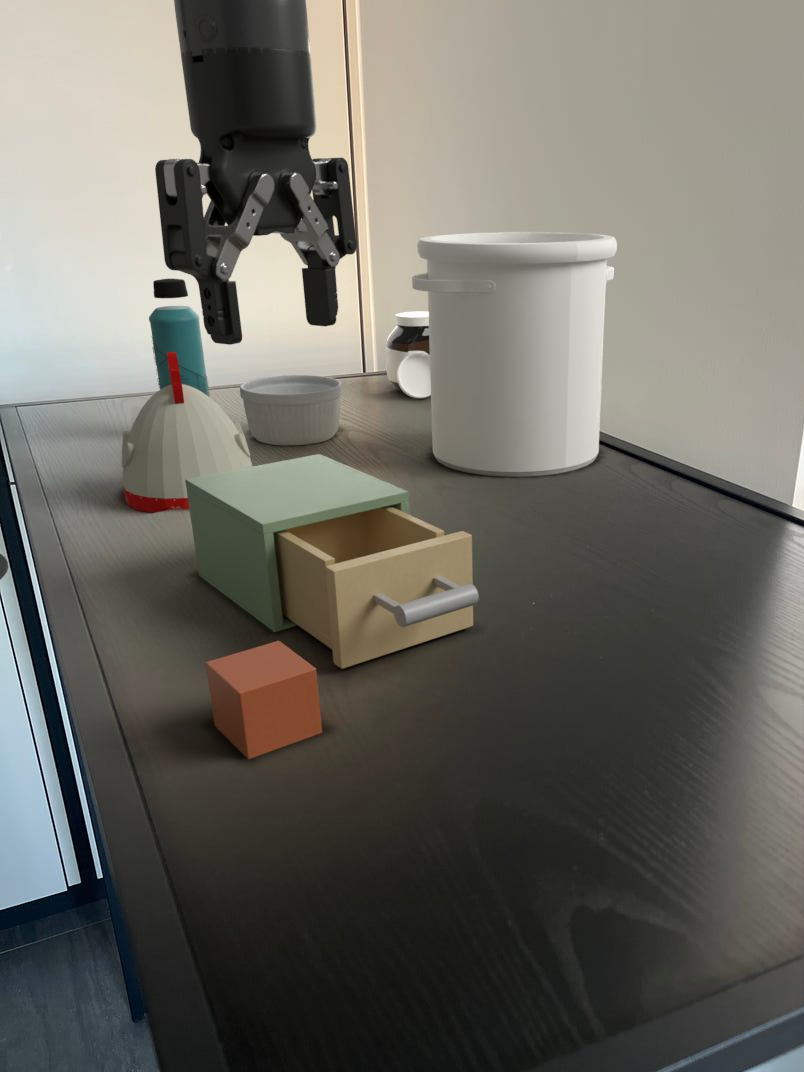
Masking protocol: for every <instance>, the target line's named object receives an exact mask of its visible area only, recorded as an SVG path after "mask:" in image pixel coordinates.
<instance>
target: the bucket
mask: <svg viewBox="0 0 804 1072" xmlns="http://www.w3.org/2000/svg"><path fill="white" fill-rule="evenodd" d="M617 251H618V241H617V239H616V237H615V236H612V235H608V234H601V233H599V234H598V233H585V232H584V233H583V232H559V231H558V232H557V231H556V232H555V231H498V232H494V231H493V232H469V233H451V234H439V235H432V236H431V235H429V236H424V237H421V238H419V240H418V242H417V254H418V255H419V257H420V259H423V260H426V272H425V273H418V274H415V275H413V276H412V277H411V283H412V285H411V286H412V289H413V290H416V291H420V292H421V291H422V292H427V305H428V306H427V307H428V308H427V309H428V310H427V312H429V345H430V378H431V395H430V407H431V440H432V441H431V443H432V445H431V446H432V454H433V456H434V459H435V460H436V461H437V462H438V463H439V464H441V465H443V466H445V467H446V468H449V469H452V470H455V471H459V472H463V473H468V474H474V475H480V476H487V477H488V476H489V477H501V478H502V477H505V478H507V477H508V478H525V477H540V476H541V477H543V476H551V475H558V474H563V473H569V472H572V471H577V470H579V469H581V468H584V467H587V466H588V465H590V464H592V463H593V462H594V461H595V460H596V459H597V457H598V454H599V451H600V427H601V426H600V425H601V408H602V407H601V405H602V383H603V362H604V361H603V359H604V335H605V333H604V332H605V315H606V314H605V313H606V292H607V291H606V290H607V283H608V281H612V280H613V279H614V276H615V267H614V266H610V265H608V259H610V258H612V257H615V255H616V253H617Z"/></svg>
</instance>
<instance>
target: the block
mask: <svg viewBox="0 0 804 1072" xmlns="http://www.w3.org/2000/svg"><path fill="white" fill-rule="evenodd" d="M205 670H206V677H207V683H208V689H209V697H210V703H211V708H212V716H213V725H214V727H215V728H216V729H217V730H218V731H219V732H220V733H221V734H222V735H223V736H224V737H225V738H226V739H227V740H228V741H229V742H230V743H231V744H232V745H233V746H234V747H235V748H236V749H237V750H238V751H239V752H240V753H241V754H243V756H244V757H245V758H246V759H247V760H250V759H253V758H256V757H259V756H262V755H264V754H267V753H270V752H272V751H275V750H278V749H280V748H283V747H286V746H289V745H291V744H295V743H297V742H300V741H303V740H305V739H309V738H311V737H314V736H316V735H319V734H322V733H323V726H322V715H321V705H320V696H319V685H318V675H317V668H316V667H315V666H313V665H312V664H311V663H310V662H308V661H307V660H305V659H304V658H302V657H301V656H300V655H299V654H298V653H296V652H295V651H293V650H292V649H291V648H290V647H289V646H287V645H286V644H284V643H283V642H282V641H280V640H276V641H273V642H269V643H266V644H263V645H260V646H259V645H258V646H255V647H252V648H249V649H246V650H241V651H238V652H235V653H232V654H229V655H226V656H225V655H224V656H222V657H219V658H215V659H212V660H209V661H206V662H205Z"/></svg>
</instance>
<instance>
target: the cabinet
mask: <svg viewBox="0 0 804 1072" xmlns="http://www.w3.org/2000/svg"><path fill="white" fill-rule="evenodd" d="M252 466H253V467H248V468H243V469H237V470H232V471H227V472H221V473H216V474H211V475H205V476H200V477H195V478H189V479H185V483H186V488H187V496H188V503H189V509H188V510H189V516H190V523H191V529H192V536H193V542H194V549H195V556H196V562H197V564H196V565H197V570H198V576H199V577H200V578H201V579H203V580H204V581H206V582H207V583H208V584H209V585H211V586H212V587H213V588H215V589H217V590H218V591H219V592H220V593H222V594H223V595H224V596H226V597H227V598H228V599H230V600H231V601H232V602H234V603H235V604H236V605H237V606H239V607H240V608H242V609H243V610H244V611H245V612H247V613H248V614H249V615H251V616H252V617H254V618H255V619H256V620H257V621H259V622H260V623H262V624H263V625H265V626H266V627H267V628H269V630H271V631H272V632H274V633H276V632H280V631H283V630H287V629H291V628H293V627H297V626H298V625H297V624H296V623H294V622H293V621H291V620H290V619H289V618H287V617H286V616H284V615H283V614H282V608H281V599H280V590H279V581H278V572H277V563H276V553H275V544H274V535H273V532H277V531H281V530H286V529H290V528H294V527H299V526H303V525H307V524H312V523H316V522H320V521H325V520H329V519H333V518H338V517H342V516H346V515H351V514H355V513H359V512H364V511H368V510H372V509H377V508H381V507H385V506H391V507H393V508H395V509H398V510H400V511H402V512H404V513H406V514H409V515H410V492H409V490H406V489H404V488H402V487H399V486H396V485H394V484H392V483H389V482H387V481H384V480H381V479H379V478H377V477H374V476H373V475H370V474H368V473H366V472H363V471H361V470H358V469H356V468H354V467H352V466H349V465H346V464H345V463H342V462H339V461H337V460H335V459H333V458H331V457H328V456H325V455H323V454H321V453H317V454H311V455H307V456H301V457H295V458H291V459H286V460H281V461H274V462H270V463H264V464H260V465H252Z"/></svg>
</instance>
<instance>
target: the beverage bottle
mask: <svg viewBox="0 0 804 1072" xmlns="http://www.w3.org/2000/svg"><path fill="white" fill-rule="evenodd" d="M152 284H153V286H152V287H153V298H154V299H181V298H186V297H188V296H189V293H188V292H189V291H188V289H187V285H186V281H185V279H182V278H160V279H156V280H153V283H152ZM148 322H149V324H150V331H151V339H150V340H151V342H152V345H153V346H152V352H153V353H152V354H153V359H154V364H155V366H156V370H155V371H156V372H155V374H157V386H158V388H159V390H161V389H162V388H164V387H166V386H169V385H171V380H170V374H169V367H168V359H167V353H169V352H176V355H177V359H178V366H179V370H180V378H181V383H182V384H184V385H188V386H191V387H193V388H195V389H197V390H199V391H201V392H203V393H204V394H206V395H207V396H208V397H210V398H211V395H210V394H211V393H210V389H209V387H210V386H209V381H208V380H209V379H208V376H207V370H206V364H205V362H206V361H205V355H204V347H203V339H202V331H201V324H200V323H201V322H200V315H199V314H198V313H197V312H196V311H195V310H194V309H193V308H191V307H190V306H188V305H166V306H158V307H156V308H154V309H153V311H152V312H151V314H150V315H149V316H148Z"/></svg>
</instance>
